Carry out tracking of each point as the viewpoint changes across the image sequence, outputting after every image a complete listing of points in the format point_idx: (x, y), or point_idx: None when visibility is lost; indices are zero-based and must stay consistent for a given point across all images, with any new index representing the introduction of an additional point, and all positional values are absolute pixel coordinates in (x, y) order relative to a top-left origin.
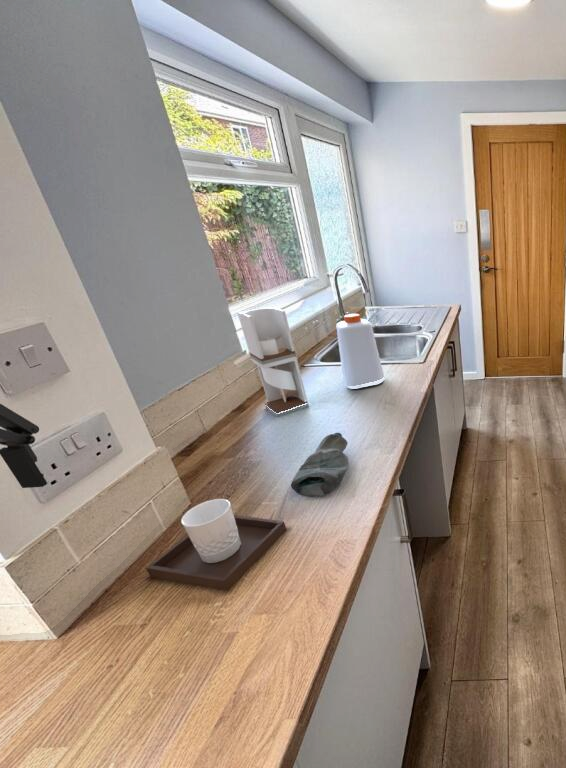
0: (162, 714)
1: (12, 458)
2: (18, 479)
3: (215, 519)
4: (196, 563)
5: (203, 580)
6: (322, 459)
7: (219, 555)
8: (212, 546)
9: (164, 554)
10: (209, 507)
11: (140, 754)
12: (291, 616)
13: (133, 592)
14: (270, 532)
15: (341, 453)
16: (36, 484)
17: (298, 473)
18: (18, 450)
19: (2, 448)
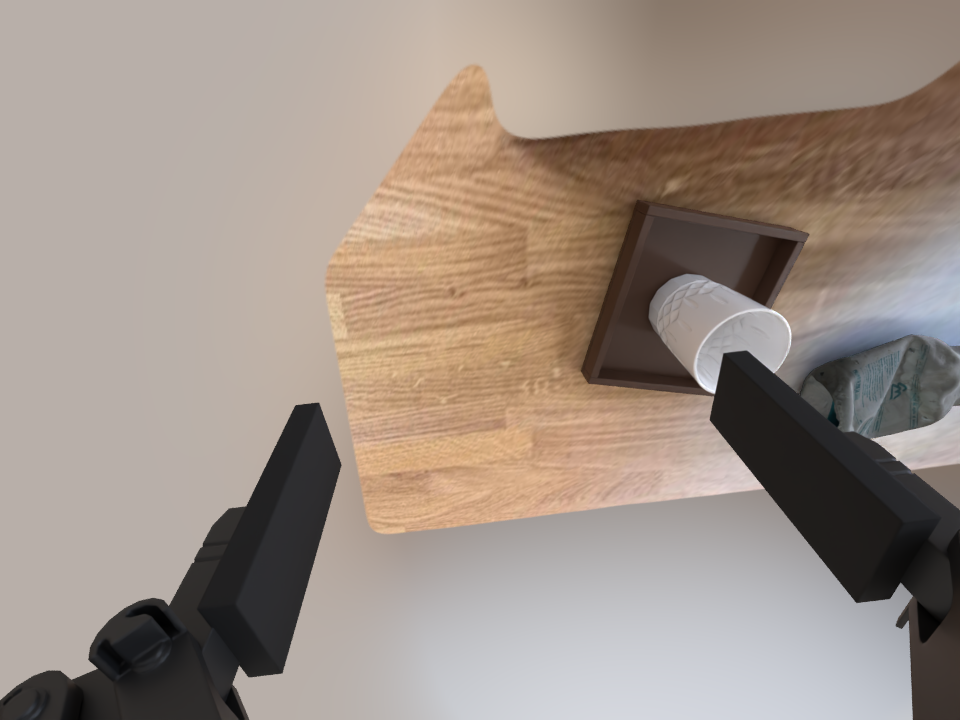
0: (395, 414)
1: (829, 507)
2: (750, 384)
3: (706, 390)
4: (655, 278)
5: (599, 339)
6: (921, 390)
7: (657, 331)
8: (666, 342)
9: (684, 216)
10: (773, 323)
11: (354, 423)
12: (525, 476)
13: (601, 195)
14: (697, 391)
15: (922, 425)
16: (720, 412)
17: (889, 356)
18: (852, 592)
19: (925, 523)
